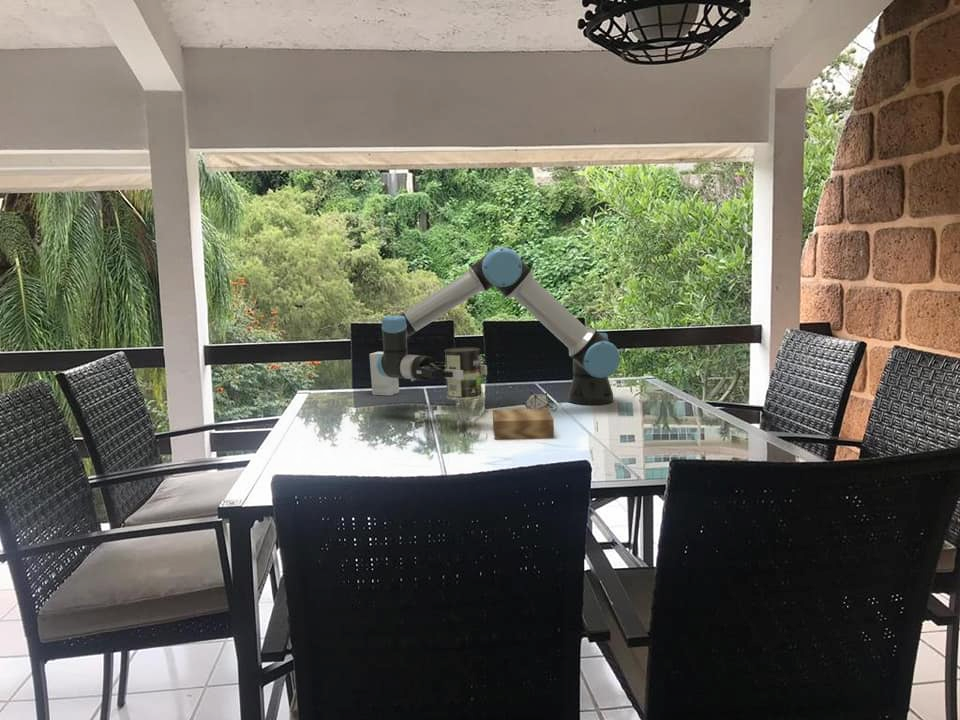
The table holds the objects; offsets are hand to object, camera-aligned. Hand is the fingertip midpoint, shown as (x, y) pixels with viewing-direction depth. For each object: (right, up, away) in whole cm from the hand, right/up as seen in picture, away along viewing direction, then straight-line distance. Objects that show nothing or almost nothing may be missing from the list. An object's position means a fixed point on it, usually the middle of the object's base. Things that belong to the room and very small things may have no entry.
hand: (474, 372), depth 225 cm
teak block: (+13, -17, -5) cm, 22 cm away
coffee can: (-3, -7, +4) cm, 9 cm away
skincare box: (-33, -9, +63) cm, 72 cm away
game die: (+19, -14, +13) cm, 27 cm away
